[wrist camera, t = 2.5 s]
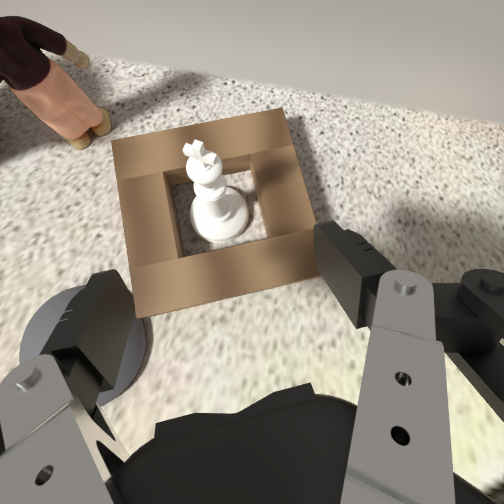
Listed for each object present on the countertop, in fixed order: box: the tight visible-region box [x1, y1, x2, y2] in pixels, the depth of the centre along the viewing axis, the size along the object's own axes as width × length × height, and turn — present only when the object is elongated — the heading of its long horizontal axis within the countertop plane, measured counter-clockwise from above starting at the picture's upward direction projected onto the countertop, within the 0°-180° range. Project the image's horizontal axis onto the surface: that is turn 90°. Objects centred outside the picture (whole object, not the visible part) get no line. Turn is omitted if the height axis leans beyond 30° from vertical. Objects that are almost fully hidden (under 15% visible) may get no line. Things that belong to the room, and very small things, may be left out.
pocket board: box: [111, 108, 322, 318], centre depth 21 cm, size 14×14×2 cm
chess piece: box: [183, 140, 249, 243], centre depth 17 cm, size 5×5×10 cm
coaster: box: [19, 286, 146, 406], centre depth 20 cm, size 9×9×1 cm
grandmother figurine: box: [0, 16, 111, 150], centre depth 17 cm, size 8×4×13 cm, turn 138°
